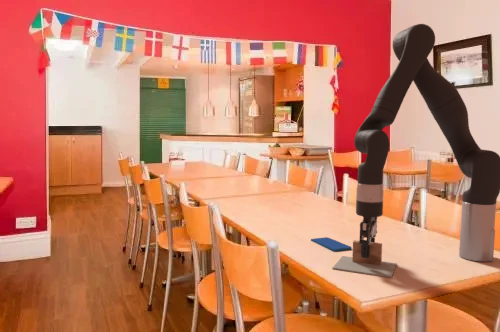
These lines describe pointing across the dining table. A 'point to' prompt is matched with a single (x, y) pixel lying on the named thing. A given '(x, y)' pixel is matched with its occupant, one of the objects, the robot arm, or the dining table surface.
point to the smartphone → (331, 244)
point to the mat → (365, 267)
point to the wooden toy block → (374, 255)
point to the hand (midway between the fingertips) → (368, 253)
